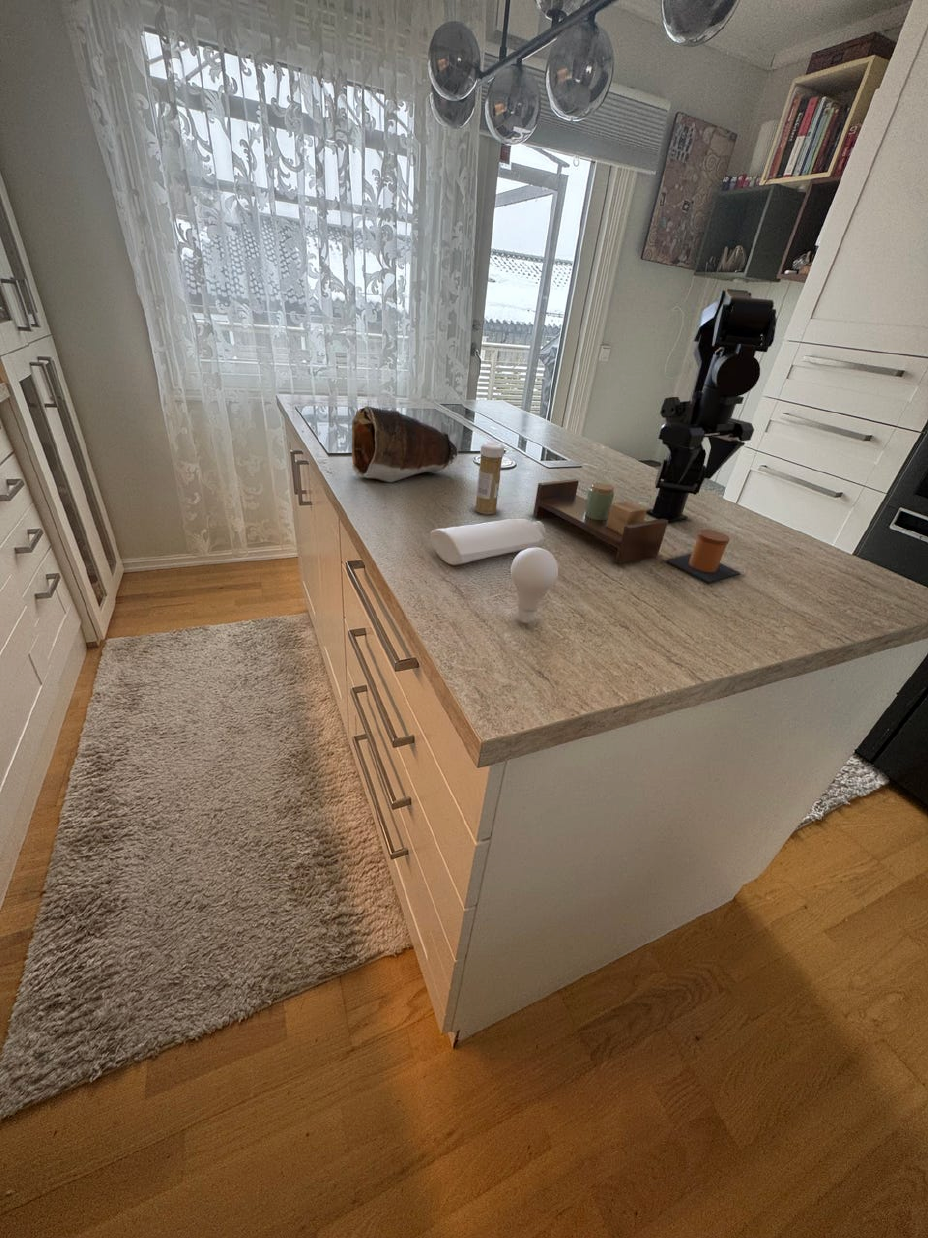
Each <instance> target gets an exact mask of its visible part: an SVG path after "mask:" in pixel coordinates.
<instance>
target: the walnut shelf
mask: <svg viewBox="0 0 928 1238" xmlns="http://www.w3.org/2000/svg"><path fill="white" fill-rule="evenodd" d="M579 483H580V481H579V480H578V479H576V478H573V479H564V480H555V481H546V482H539V483H538V484H537V488H536V495H535V501H534V506H533V514H532V517H533V518H535V519H540V518H541V519H542V518H546V517H553V516H554V517H555V516H557V517H560V518H562V519H563V520H565V521H567V522H569V523H571V524H573V525H575V526H576V527H578V528H581V530H584V531H586V532H588V533H590V534H592V535H593V536H595V537H597V538H599V539H601V540H602V541H605V542H606V543H608V544H610V545H612V546H614V547H616V548H617V549H618V550H617V553H616V557H615V561H614V563H615V564H616V565H618V566H623V565H627V564H631V563H636V562H640V561H643V560H648V559H653V558H657V557H658V555H659V552H660V549H661V546H662V543H663V540H664V536H665V534H666V530H667V527H668V524H669V522H668V520H666V519H664V518H663V519H660V518H657V519H653V520H648V521H643V522H642V523H636V524H631V525H626V526H625V527H624V531H623V534H620V533H618V532H616V531H614V530H612V529H610V528H608V527H606V525H607V521H608V519H606V520H594V519H590V518H588V517H586V516H585V515H584V511H585V507H586V502H587V498H584V497H582V496H579V495H577V492H578V487H579ZM609 513H610V512H609ZM608 517H609V516H608Z"/></svg>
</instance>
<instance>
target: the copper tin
mask: <svg viewBox="0 0 928 1238" xmlns="http://www.w3.org/2000/svg"><path fill="white" fill-rule="evenodd" d="M729 542H730V536H729V535H728V534H726V533H724V532H722V531H718V530H715V529H706V528H704V529H700V530H699V531H698V533H697V538H696V541H695V544H694V547H693V548H692V549H693V550H692V552H691V554H692V555H691V558H690V560H689V565H690V566H691V567H693V568H695V569H697V570H700V571H704V572H715V571H716V570H717V568H718V566H719V563H721V561H722V558H723V555H724V554H725V550H726V548H727V545H728V544H729Z"/></svg>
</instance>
